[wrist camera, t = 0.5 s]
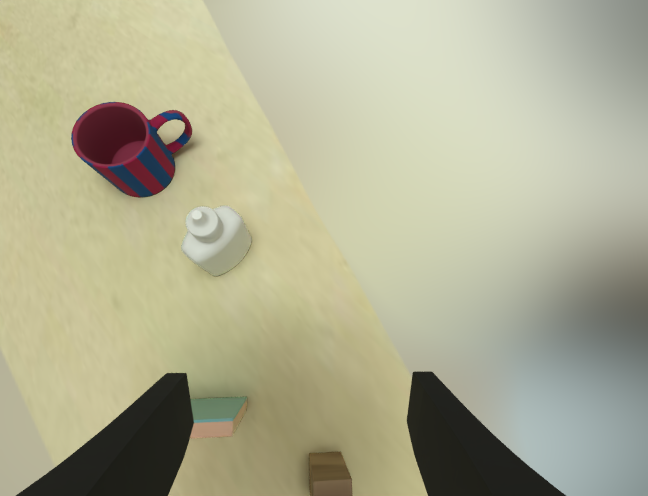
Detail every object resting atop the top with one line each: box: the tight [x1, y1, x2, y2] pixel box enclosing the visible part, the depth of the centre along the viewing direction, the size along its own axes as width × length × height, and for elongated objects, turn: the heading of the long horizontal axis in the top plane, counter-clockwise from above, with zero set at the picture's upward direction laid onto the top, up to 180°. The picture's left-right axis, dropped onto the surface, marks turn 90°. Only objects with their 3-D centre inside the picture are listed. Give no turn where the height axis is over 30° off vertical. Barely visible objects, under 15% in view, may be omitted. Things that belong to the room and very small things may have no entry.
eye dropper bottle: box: [181, 205, 252, 276], centre depth 29 cm, size 4×6×12 cm
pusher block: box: [309, 452, 352, 496], centre depth 28 cm, size 3×3×6 cm
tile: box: [190, 397, 247, 438], centre depth 28 cm, size 1×7×8 cm, turn 91°
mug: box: [71, 102, 192, 197], centre depth 34 cm, size 7×10×7 cm
